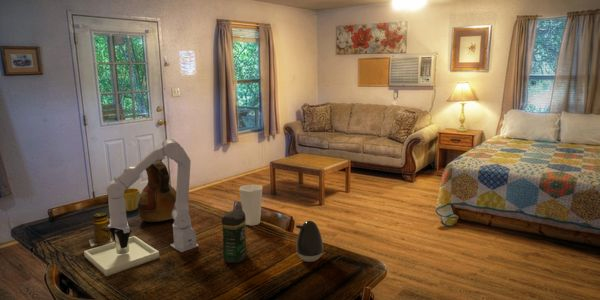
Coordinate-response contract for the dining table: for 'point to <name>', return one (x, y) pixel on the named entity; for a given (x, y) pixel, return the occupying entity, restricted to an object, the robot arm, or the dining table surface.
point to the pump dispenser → (309, 242)
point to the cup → (251, 203)
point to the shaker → (118, 247)
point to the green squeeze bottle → (234, 236)
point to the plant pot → (131, 198)
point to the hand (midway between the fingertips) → (121, 245)
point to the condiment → (100, 230)
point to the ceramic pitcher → (157, 195)
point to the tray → (120, 256)
